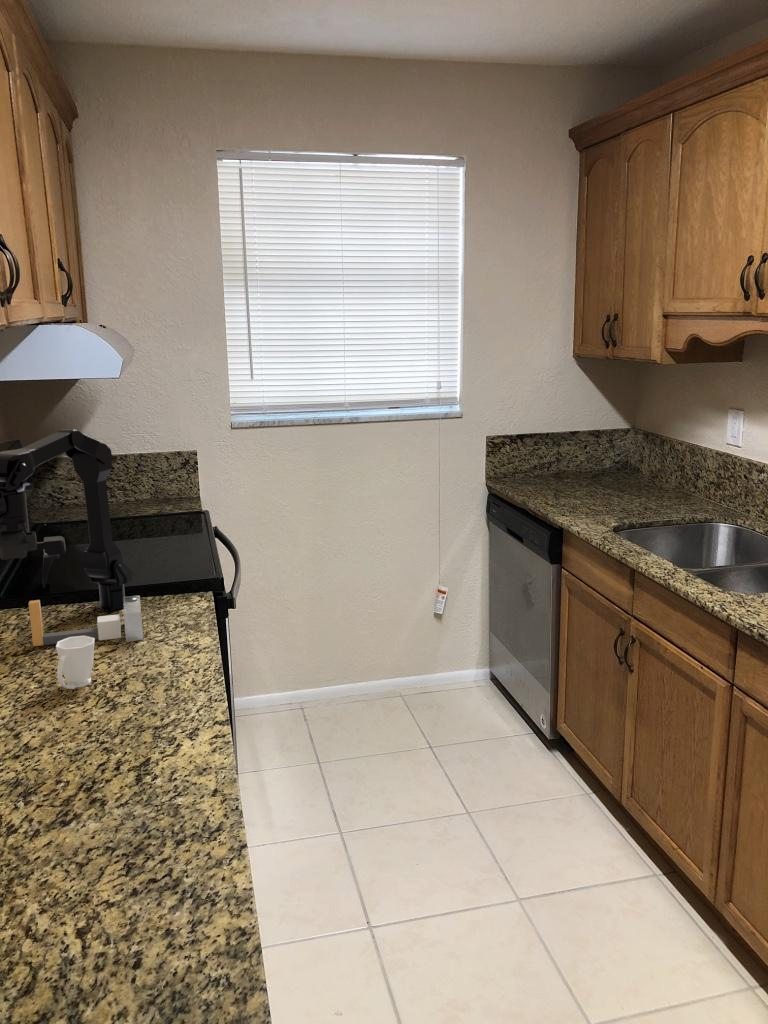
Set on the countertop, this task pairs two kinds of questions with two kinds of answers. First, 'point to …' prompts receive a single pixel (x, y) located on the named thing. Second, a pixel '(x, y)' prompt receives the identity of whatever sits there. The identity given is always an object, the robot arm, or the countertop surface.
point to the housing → (133, 618)
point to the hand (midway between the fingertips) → (19, 589)
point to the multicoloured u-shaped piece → (106, 630)
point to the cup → (75, 661)
